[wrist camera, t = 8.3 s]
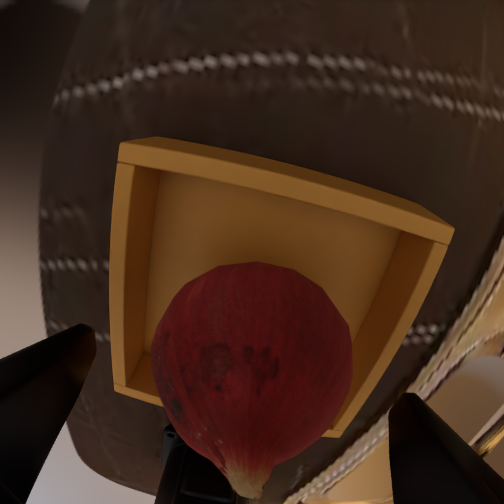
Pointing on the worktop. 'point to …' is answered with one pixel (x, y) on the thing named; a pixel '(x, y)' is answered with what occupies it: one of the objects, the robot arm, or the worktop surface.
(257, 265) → the onion
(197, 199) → the amber tray
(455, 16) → the worktop surface
